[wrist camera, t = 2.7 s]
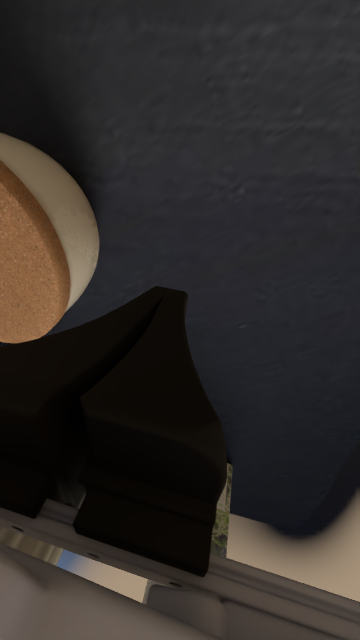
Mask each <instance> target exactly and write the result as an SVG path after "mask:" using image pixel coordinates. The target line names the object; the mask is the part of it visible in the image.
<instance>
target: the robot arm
mask: <svg viewBox="0 0 360 640" xmlns="http://www.w3.org/2000/svg"><path fill="white" fill-rule="evenodd" d="M187 298H188V295H187V293H186V292H184V291H179V290H174V289H169V288H164V287H159V286H155V287H153V288H152V289H150V290H148V291H147V292H145V293H143V294H142V295H140V296H139V297H137V298H135V299H134V300H132V301H130V302H128V303H127V304H125V305H123V306H121V307H119V308H117V309H115V310H114V311H112V312H110V313H108V314H106V315H104V316H102V317H100V318H97V319H95V320H93V321H90V322H88V323H85V324H83V325H80V326H77V327H75V328H72V329H68V330H65V331H62V332H59V333H56V334H53V335H50V336H46V337H42V338H38V339H34V340H30V341H26V342H21V343H17V344H12V345H7V346H1V347H0V527H3V528H6V529H9V530H11V531H14V532H17V533H20V534H23V535H25V536H28V537H31V538H34V539H37V540H40V541H42V542H45V543H48V544H51V545H54V546H56V547H59V548H62V549H65V550H68V551H70V552H73V553H76V554H79V555H82V556H84V557H88V558H90V559H93V560H96V561H99V562H101V563H104V564H107V565H110V566H113V567H115V568H118V569H121V570H124V571H127V572H130V573H132V574H135V575H138V576H141V577H144V578H146V579H149V580H152V581H155V582H157V583H160V584H163V585H158V584H153V585H152V586H151V587H150V588H149V592H148V596H147V601H146V605H145V604H143V603H140V602H138V601H136V600H133V599H131V598H129V597H126V596H124V595H122V594H119V593H117V592H115V591H113V590H110V589H108V588H105V587H103V586H101V585H99V584H96V583H94V582H92V581H89V580H87V579H85V578H83V577H80V576H78V575H76V574H73V573H71V572H69V571H66V570H64V569H61V568H59V567H57V566H55V565H52V564H50V563H48V562H45V561H43V560H40V559H38V558H36V557H33V556H31V555H29V554H26V553H24V552H21V551H19V550H16V549H14V548H11V547H9V546H6V545H4V544H1V543H0V640H360V602H358V601H355V600H352V599H349V598H345V597H343V596H339V595H337V594H334V593H330V592H327V591H325V590H322V589H319V588H316V587H312V586H310V585H307V584H304V583H300V582H297V581H295V580H291V579H288V578H286V577H283V576H279V575H276V574H273V573H270V572H267V571H264V570H261V569H258V568H255V567H252V566H249V565H246V564H243V563H240V562H237V561H234V560H231V559H228V558H225V557H222V556H219V555H216V554H213V553H210V550H211V541H212V532H213V526H214V525H215V520H216V512H217V503H218V501H219V498H220V496H221V494H222V492H223V490H224V488H225V485H226V482H227V456H226V448H225V442H224V437H223V432H222V427H221V422H220V419H219V417H218V416H217V414H216V412H215V410H214V409H213V407H212V405H211V403H210V401H209V399H208V397H207V395H206V393H205V391H204V389H203V386H202V384H201V382H200V379H199V377H198V374H197V372H196V369H195V366H194V364H193V360H192V357H191V354H190V350H189V346H188V341H187V336H186V330H185V313H186V306H187ZM164 585H166V586H164Z"/></svg>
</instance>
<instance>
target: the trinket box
mask: <svg viewBox="0 0 360 640" xmlns="http://www.w3.org/2000/svg"><path fill="white" fill-rule="evenodd" d="M98 254H99V234H98V228H97V223H96V219H95V216H94V213H93V210H92V208H91V206H90V203H89V201H88V199H87V198H86V196H85V194H84V192H83V191H82V189H81V188H80V187H79V185H78V184H77V183H76V181H75V180H74V179H73V178H72V176H71V175H70V174H69V173H68V172H67V171H66V170H65V169H64V168H63V167H62V166H61V165H60V164H59V163H57V162H56V161H55V160H54V159H53V158H51V157H50V156H49V155H47V154H46V153H44V152H42V151H41V150H39V149H37V148H36V147H34V146H32V145H31V144H29V143H27V142H25V141H22V140H20V139H18V138H15V137H13V136H10V135H7V134H3V133H0V342H5V343H21V342H26V341H30V340H34V339H38V338H40V337H42V336H43V335H45V334H46V333H48V332H49V331H50V330H51V329H52V328H53V327H54V326H55V325H56V324H57V323H58V322H59V320H60V319H61V318H62V316H63V314H64V313H65V312H66V311H67V310H68V309H69V308H70V307H71V306H72V305H73V304H74V303H75V302H76V301H77V300H78V298H79V297H80V296H81V294H82V293H83V291H84V290H85V288H86V287H87V285H88V283H89V282H90V280H91V278H92V276H93V273H94V271H95V268H96V265H97V260H98Z"/></svg>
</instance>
